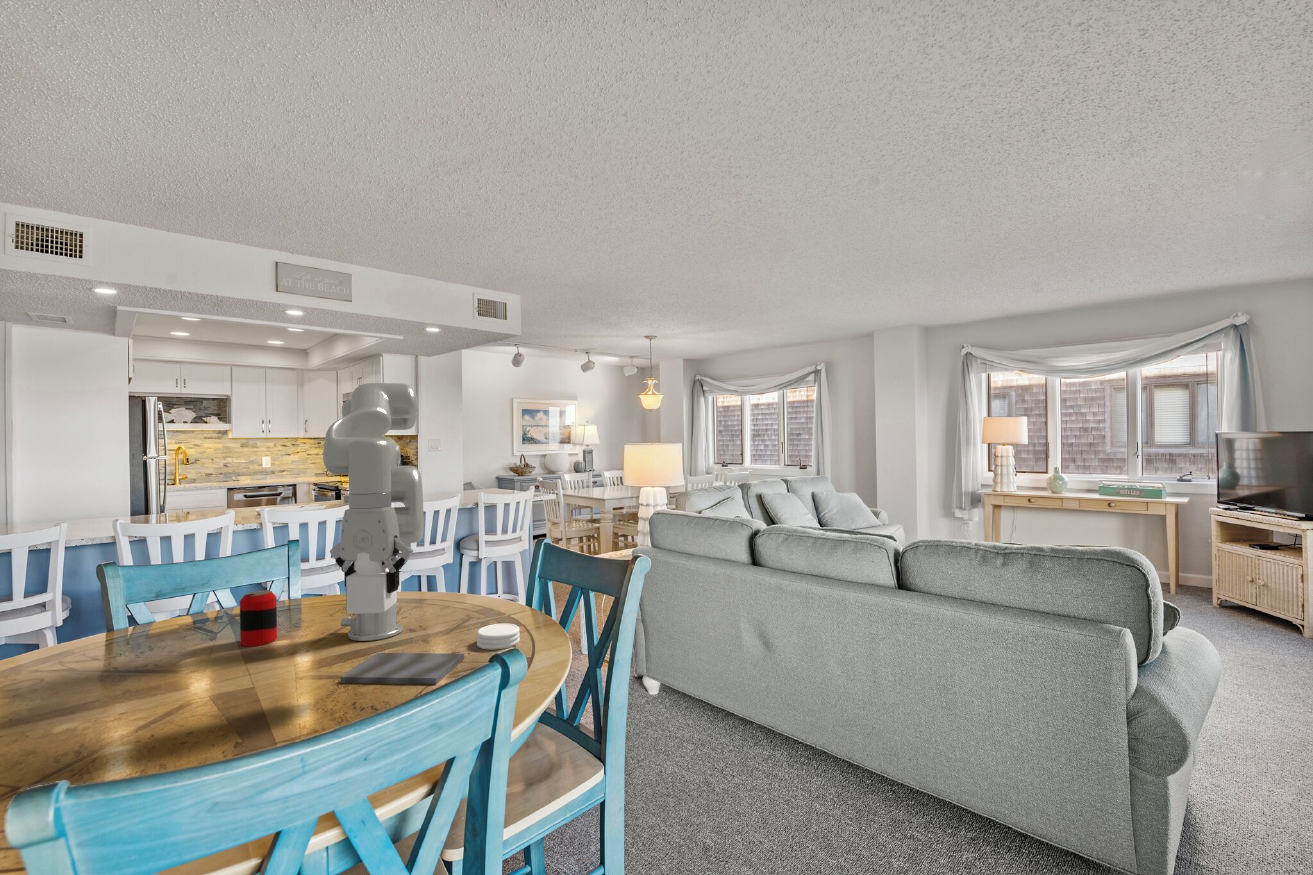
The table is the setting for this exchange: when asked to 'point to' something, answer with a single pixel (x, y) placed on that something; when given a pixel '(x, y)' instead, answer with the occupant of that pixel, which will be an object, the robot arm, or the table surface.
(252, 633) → the soda can
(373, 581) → the medicine bottle
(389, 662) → the charcoal board
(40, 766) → the table surface
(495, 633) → the coaster
